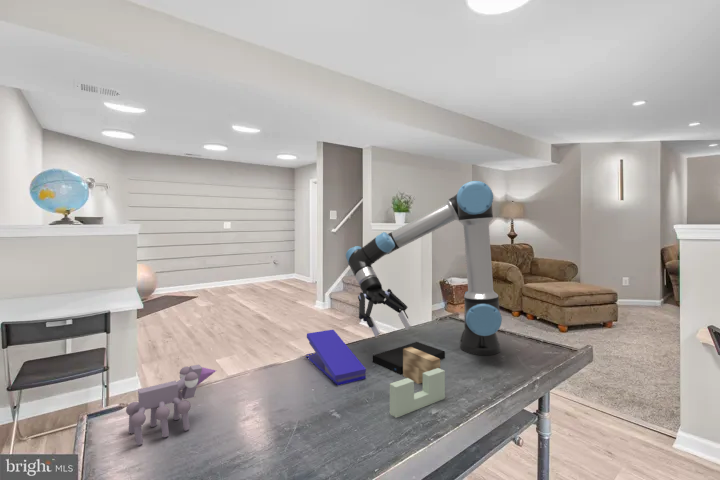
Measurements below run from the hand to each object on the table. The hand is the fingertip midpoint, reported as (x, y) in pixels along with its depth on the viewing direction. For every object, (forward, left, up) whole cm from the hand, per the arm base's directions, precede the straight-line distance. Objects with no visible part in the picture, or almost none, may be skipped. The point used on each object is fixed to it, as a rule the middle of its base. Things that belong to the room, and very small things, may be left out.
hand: (394, 331), depth 121 cm
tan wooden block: (-1, +13, -13) cm, 18 cm away
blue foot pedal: (+16, -13, -14) cm, 25 cm away
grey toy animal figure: (+66, -4, -13) cm, 68 cm away
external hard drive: (-10, -3, -14) cm, 17 cm away
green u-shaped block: (+10, +23, -13) cm, 28 cm away
